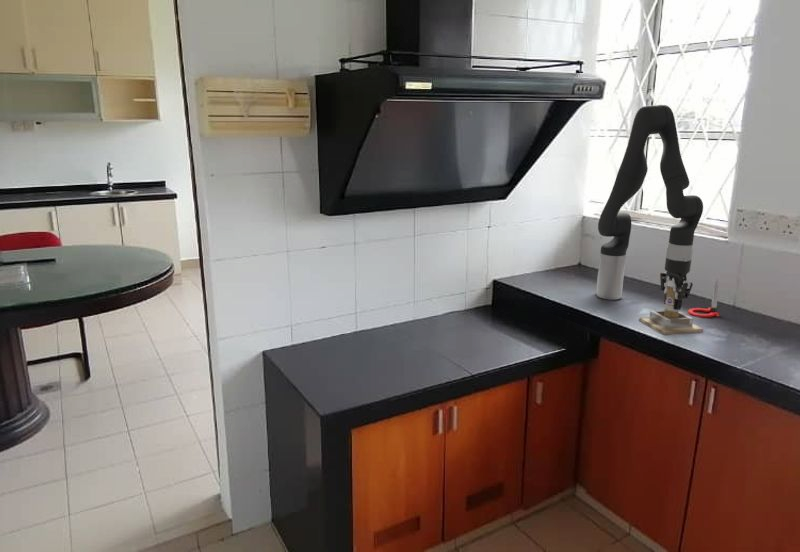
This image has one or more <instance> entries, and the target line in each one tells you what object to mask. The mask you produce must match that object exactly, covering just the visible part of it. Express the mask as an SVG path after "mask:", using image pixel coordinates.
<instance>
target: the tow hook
mask: <svg viewBox="0 0 800 552" xmlns="http://www.w3.org/2000/svg"><path fill="white" fill-rule="evenodd" d="M718 281H719V279H718V278H716V279H715V280H714V285H713V294H712V295H713V296H712V300H711V304H710V305H711V306H709V307H708V308H703V307H702V308H701V307H692V308H689V309H688V310H687V313H688V314H689V316H690V315H691V316H694V317H697V318H713V317H716V318H720V316H721V314H720V313H719V312H718V307H717V306H718V300H717V298H718V289H719V285H718V283H719V282H718ZM697 312H705V313H704V314H703V313H697Z"/></svg>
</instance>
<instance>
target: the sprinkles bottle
mask: <svg viewBox="0 0 800 552" xmlns="http://www.w3.org/2000/svg"><path fill="white" fill-rule="evenodd" d="M667 285H668V289H667V296H666V301H665V304H664V310H665V311H664V317H666V318H668V319H673V318H678V312H679V311H680V310H675V309H674V300H675V292H674V291H673V286H674V283H672V280H669V281H668V284H667ZM677 289H682V287H681V288H677ZM678 294H679V295H680V292H678Z"/></svg>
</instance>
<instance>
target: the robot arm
mask: <svg viewBox="0 0 800 552" xmlns="http://www.w3.org/2000/svg"><path fill="white" fill-rule="evenodd" d="M633 118H634V119H633V121H632V125H631V129H630V134H629V139H628V141H627V145H626V149H625V151H624V154H623V158H622V161H621V163H620V166H619V168H618V171H617V174H616V178H615V180H614V184H613V185H612V186H613V187H612V189H611V192H610V194H609V197H608V199H607V200H606V203H605V205H604V207H603V209H602V212H601V214H600V216H599V220H598V224H597V230H598V233H599V234H600V236H603V237H607V238H610V237H611V238H612V237H613V238H612V239H611V240H610V241H608V242H607V243H604V244H602V245H601V247H600V256H599V266H598V271H597V277H596V290H595V294H596V297H597V298H600V299H604V300H613V301H614V300H620V299H622V296H623V295H622V294H623V285H624V279H625V278H624V276H625V268H626V267H625V266H626V257H627V251H628V248H629V244H630V237H631V233H632V231H631V230H632V218H631V214H629V213H628V212H626V211H620V210H621V209H622V207H623V206H624V205H625V204H626V203H628V201H630V200H631V199H632V198H633V197H634V196H635V195H636V194H637V193H638V192H639V191H640V189H641V188H642V186H643V184H644V182H645V178H646V177H647V174H648V168H649V167H648V161H647V159H646V155H645V147H646V143H647V140H648V138H649V136H650V135H658V134H659V137H660V138H661V141H662V152H661V157H660V163H659V170H660V175H661V178H662V180H663V183H664V186H665V195H666V196H665V197H666V201H665V202H666V209H667V212H668V214H669V215H670V216H671V217H672V218H674V219H680V220H679V222H678V223H676V224H674V225H672V226H671V228H670V229H669V230H670V232H669V237H668V244H667V248H666V253H665V255H666V256H665V261H664V262H665V264H664V270H665V271H666V272H660V275H659V276H660V277H659V278H660V290H661V291H663V292H664V293H663V294H664V298H663V299H664V300H663V301H664V302H663V304H664V305H665V301H666V296H667V289H668V285H667V284H668V281H669V280H672V283H674V286H673V291H674V292H675V300H674V309H675V310H679V311H680V310H681V308H682V305H683V300H685V299H688V298H689V296H690V293H691V291H692V288H693V282H689V281H688V280H687V279H688V277H687V274H689V273H690V271H691V265H692V258H693V250H694V249H693V248H694V247H693V243H694V239H695V238H694V237H695V231H696V230H697V227H698V225H699V222H700V220H701V219H702V218H701V217H702V215H703V213H704V212H703V211H704V203H703V200H702V199H701V197H699V196H698V195H684V190H686V189H687V188H688V187H689V186H690V180H689V179H690V178H689V176H688V173H687V169H686V168H685V165H684V161H683V158H682V154H681V150H680V149H681V148H680V144H679V143H680V142H679V135H678V131H677V124H676V119H675V116H674V112H673V109H672V108H671V106H669V105H666V104H654V105H643V106H642V107H640V108H638V111H636V113H635V116H634V117H633ZM681 287H682V289H677V288H681ZM678 292H680V295H679V294H678Z"/></svg>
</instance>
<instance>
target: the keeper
mask: <svg viewBox="0 0 800 552" xmlns="http://www.w3.org/2000/svg"><path fill="white" fill-rule="evenodd" d="M664 311H665V309H662V310H658V309H657V310H650V312H649V316H645V317H644V316H642V317H638V320H639V321H640V322H641V323H643V324H644V325H646V326H648V327H650V328H652V329H653V330H655V331H657V332H658V333H660V334H662V335H664V336H665V335H667V334H668V335H678V334H692V333H702V332H704V328H702V327H700V326H698V325H696V324H694V318H693V317H691V316H690V315H687V314H685V313H683V312H682V311H680V310H679V312H678V318H673V319H668V318H666V317H664ZM668 335H667V336H668Z"/></svg>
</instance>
